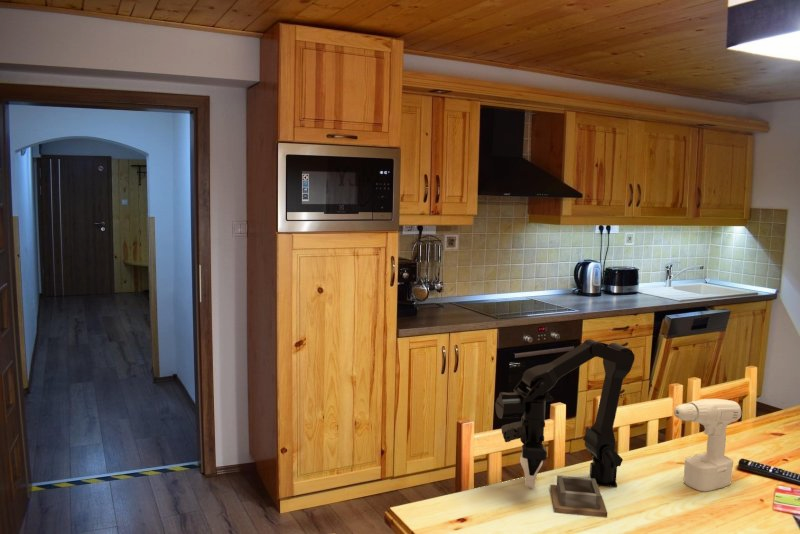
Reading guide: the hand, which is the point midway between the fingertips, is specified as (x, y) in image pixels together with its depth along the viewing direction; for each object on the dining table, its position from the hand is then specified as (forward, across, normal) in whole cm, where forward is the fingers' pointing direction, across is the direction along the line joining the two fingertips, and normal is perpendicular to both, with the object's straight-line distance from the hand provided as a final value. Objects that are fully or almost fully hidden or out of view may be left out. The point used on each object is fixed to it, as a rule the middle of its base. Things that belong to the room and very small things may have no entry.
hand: (530, 470), depth 177 cm
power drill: (+5, -11, +48) cm, 50 cm away
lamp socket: (+5, +6, +12) cm, 14 cm away
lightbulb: (+5, 0, 0) cm, 5 cm away
